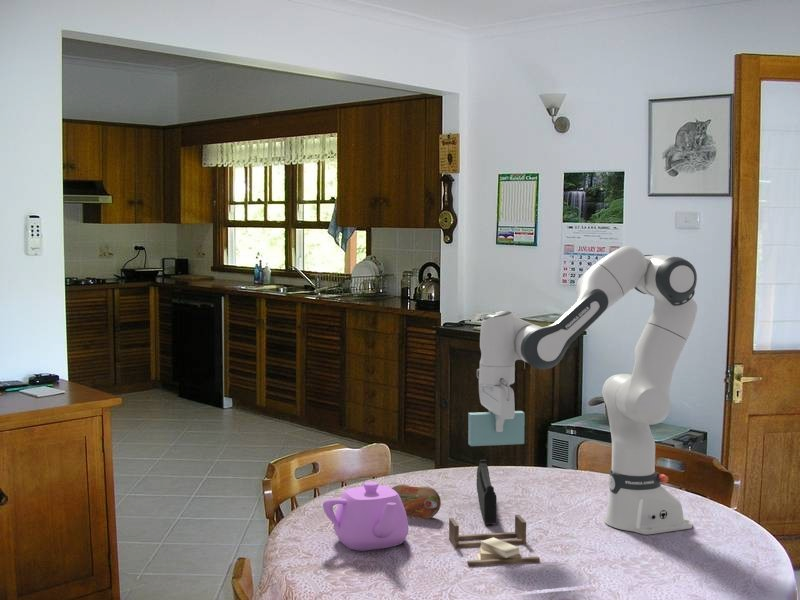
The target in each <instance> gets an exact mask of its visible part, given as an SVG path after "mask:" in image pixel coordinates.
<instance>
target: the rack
mask: <svg viewBox="0 0 800 600" xmlns="http://www.w3.org/2000/svg"><path fill="white" fill-rule="evenodd" d="M448 521H449V522H448V541H450V543H451V545H452V546H453V548H454V549H455V548H456V549H458V548H475V547H476V548H477V547H480V546H481V541H482V540H483V539H484V540H487V539H490V538H493V537H494V538H496V539H500V540H501V541H504V542H507V543H509V544H512V545H526V544H527V521H526V520H525V519H524V518H523V517H522V516H521V515H520V514H514V531H510V532H493V533H492V532H491V533H473V534H472V533H471V534H459V533H460V530H459V529H460V528H459V527H460V525H459V524H458V523H457V521H456V520H455V518H454V517H449V519H448ZM504 538H510V539H504ZM511 538H513V539H511ZM468 540H469V541H468ZM471 540H476V541H471ZM477 540H479V541H477ZM460 541H461V542H460ZM462 541H463V542H462ZM540 560H541V558H540V557H539V556H526V557H525V556H524V557H521V558H507V559H490V560H479V559H476V560H475V559H473V560H467V566H468V567H480V566H497V565H498V566H499V565H513V564H526V563H529V564H530V563H540V562H541V561H540Z"/></svg>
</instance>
